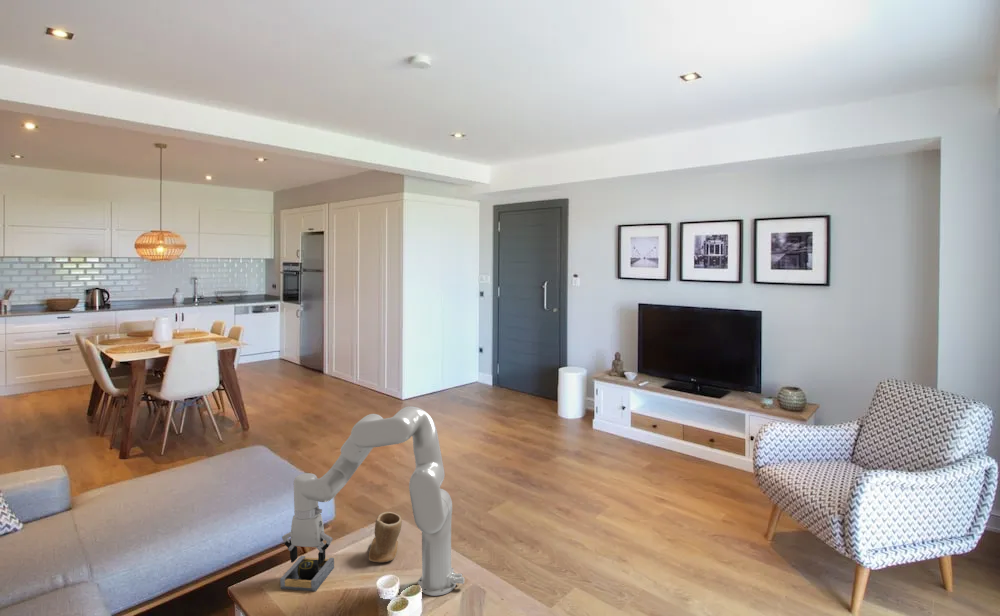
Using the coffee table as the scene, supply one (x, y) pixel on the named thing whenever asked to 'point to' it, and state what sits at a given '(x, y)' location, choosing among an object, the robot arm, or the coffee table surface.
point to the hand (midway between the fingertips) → (307, 561)
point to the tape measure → (308, 569)
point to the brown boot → (385, 537)
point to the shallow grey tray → (312, 584)
